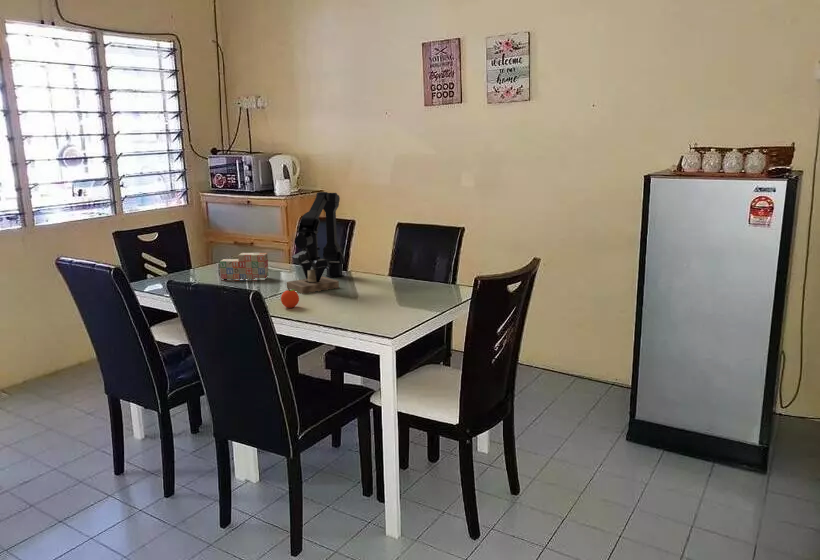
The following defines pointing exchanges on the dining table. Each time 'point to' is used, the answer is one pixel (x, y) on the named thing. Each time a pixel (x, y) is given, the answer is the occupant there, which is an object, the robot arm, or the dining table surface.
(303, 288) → the board
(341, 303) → the dining table surface
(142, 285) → the dining table surface
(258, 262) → the stack of blocks
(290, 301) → the clementine
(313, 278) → the peg
